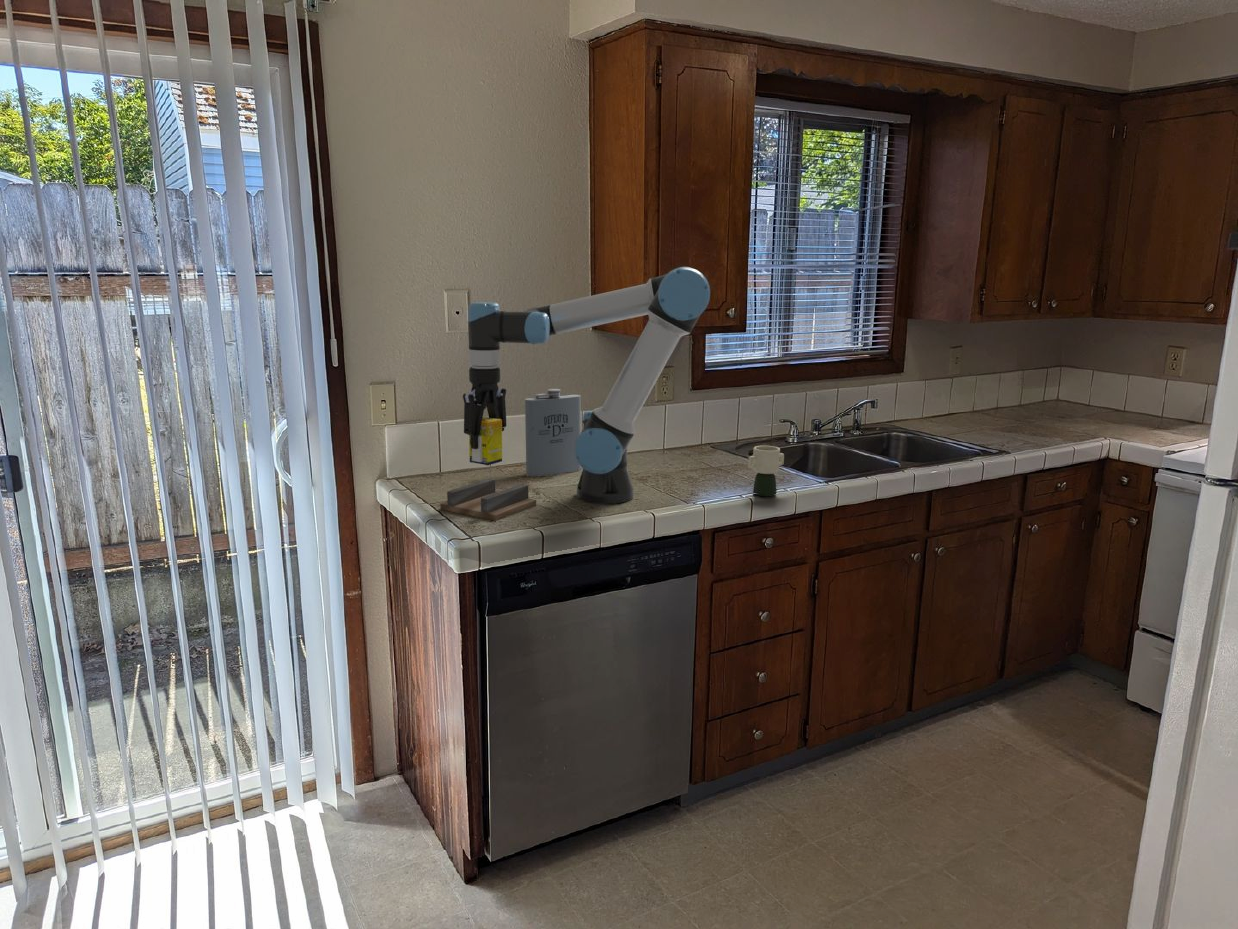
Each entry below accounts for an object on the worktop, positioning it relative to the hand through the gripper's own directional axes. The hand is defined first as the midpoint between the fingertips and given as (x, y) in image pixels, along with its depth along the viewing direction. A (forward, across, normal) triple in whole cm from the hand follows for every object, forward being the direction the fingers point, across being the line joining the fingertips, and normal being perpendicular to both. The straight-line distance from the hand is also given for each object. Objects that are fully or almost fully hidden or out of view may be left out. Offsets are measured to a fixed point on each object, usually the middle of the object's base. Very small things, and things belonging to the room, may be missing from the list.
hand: (486, 458), depth 216 cm
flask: (+13, -39, -8) cm, 42 cm away
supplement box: (+1, 0, 0) cm, 1 cm away
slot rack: (+13, 0, 0) cm, 13 cm away
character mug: (+12, -50, +54) cm, 75 cm away
